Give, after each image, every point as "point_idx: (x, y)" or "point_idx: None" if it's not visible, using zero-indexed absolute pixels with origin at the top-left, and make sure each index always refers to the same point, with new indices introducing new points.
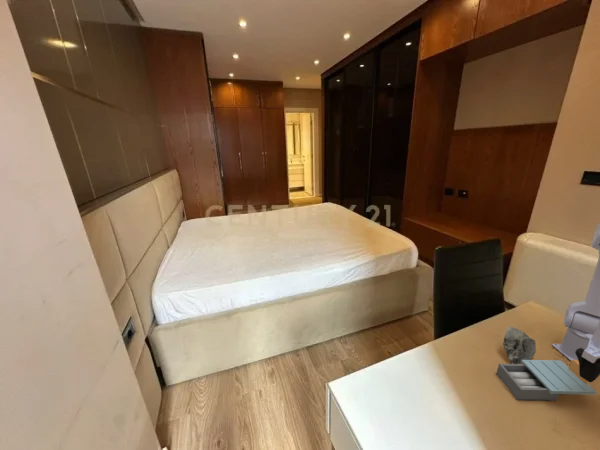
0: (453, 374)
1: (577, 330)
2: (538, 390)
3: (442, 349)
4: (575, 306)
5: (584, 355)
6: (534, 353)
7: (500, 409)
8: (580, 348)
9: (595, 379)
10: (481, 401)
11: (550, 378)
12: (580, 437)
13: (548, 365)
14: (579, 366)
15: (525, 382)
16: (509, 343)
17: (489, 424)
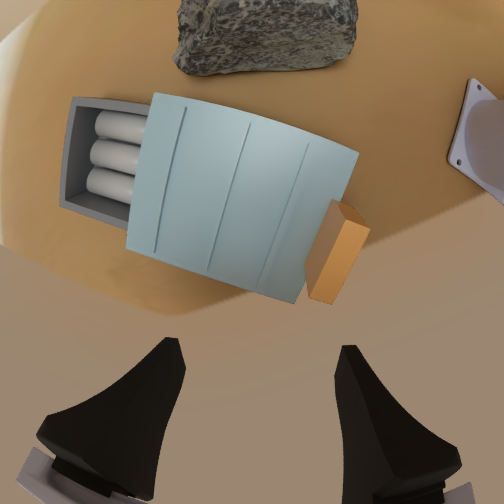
0: (18, 99)
1: None
2: (105, 221)
3: (50, 13)
4: None
5: (30, 463)
6: (335, 60)
7: (44, 202)
8: (74, 456)
9: (179, 390)
10: (24, 177)
11: (175, 208)
12: (155, 302)
13: (252, 151)
14: (129, 371)
15: (119, 168)
16: (186, 2)
17: (17, 223)
